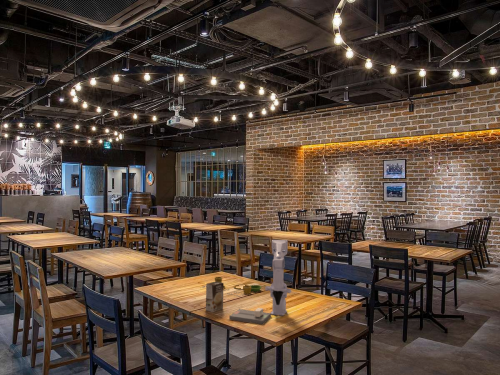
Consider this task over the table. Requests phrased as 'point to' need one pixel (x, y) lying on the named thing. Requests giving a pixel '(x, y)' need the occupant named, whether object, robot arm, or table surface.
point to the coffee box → (214, 296)
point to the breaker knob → (258, 312)
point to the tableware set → (246, 288)
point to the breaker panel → (249, 316)
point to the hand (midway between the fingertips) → (277, 304)
